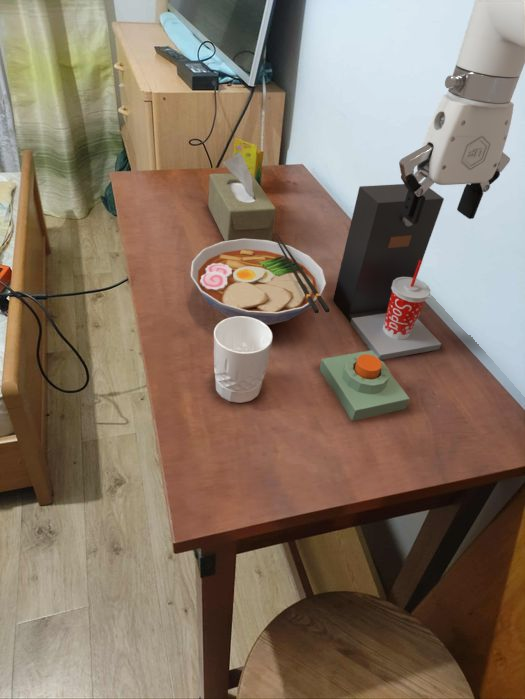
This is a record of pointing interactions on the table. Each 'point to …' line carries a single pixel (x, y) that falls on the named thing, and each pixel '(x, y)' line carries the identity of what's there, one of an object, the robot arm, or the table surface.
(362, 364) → the button
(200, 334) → the table surface
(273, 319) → the ramen bowl
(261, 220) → the tissue box
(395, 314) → the beverage cup
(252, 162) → the crayon box
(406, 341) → the coffee maker
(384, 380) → the brew pad
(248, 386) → the white cup
